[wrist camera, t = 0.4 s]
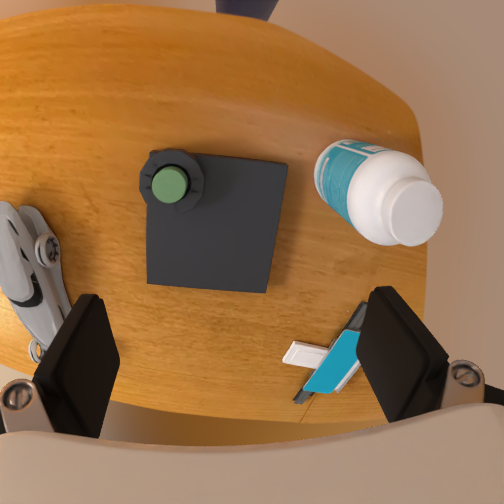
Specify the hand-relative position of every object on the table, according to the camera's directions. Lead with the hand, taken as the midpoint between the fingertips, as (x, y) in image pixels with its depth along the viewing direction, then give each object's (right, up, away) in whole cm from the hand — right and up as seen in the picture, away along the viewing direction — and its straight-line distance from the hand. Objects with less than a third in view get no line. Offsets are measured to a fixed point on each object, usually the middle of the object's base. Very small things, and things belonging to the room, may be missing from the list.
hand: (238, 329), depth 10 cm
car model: (-27, -2, +23) cm, 35 cm away
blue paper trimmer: (+11, -12, +31) cm, 35 cm away
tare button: (-7, +9, +17) cm, 20 cm away
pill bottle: (+10, +11, +20) cm, 25 cm away
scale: (-4, +5, +21) cm, 22 cm away
